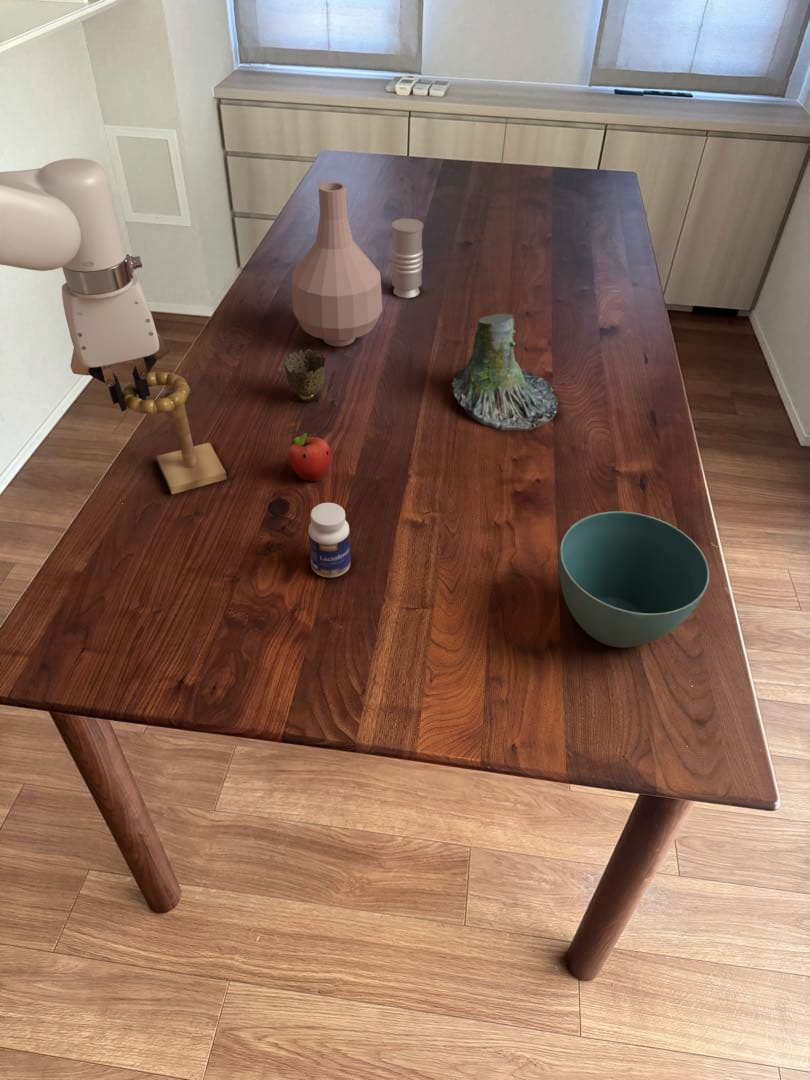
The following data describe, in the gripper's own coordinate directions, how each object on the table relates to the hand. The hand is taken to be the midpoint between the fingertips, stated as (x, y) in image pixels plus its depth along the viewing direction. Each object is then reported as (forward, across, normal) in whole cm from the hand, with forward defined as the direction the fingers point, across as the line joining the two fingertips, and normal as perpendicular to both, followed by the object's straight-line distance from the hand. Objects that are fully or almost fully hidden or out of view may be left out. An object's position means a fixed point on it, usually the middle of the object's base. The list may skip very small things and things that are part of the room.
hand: (132, 402), depth 107 cm
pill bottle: (+21, -19, +21) cm, 35 cm away
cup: (+21, -32, -21) cm, 44 cm away
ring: (-1, -3, 0) cm, 3 cm away
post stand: (+21, -7, -9) cm, 23 cm away
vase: (+21, -46, -40) cm, 64 cm away
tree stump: (+21, -64, -6) cm, 68 cm away
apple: (+21, -24, +1) cm, 32 cm away
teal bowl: (+21, -50, +48) cm, 72 cm away
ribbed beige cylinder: (+21, -67, -53) cm, 88 cm away
